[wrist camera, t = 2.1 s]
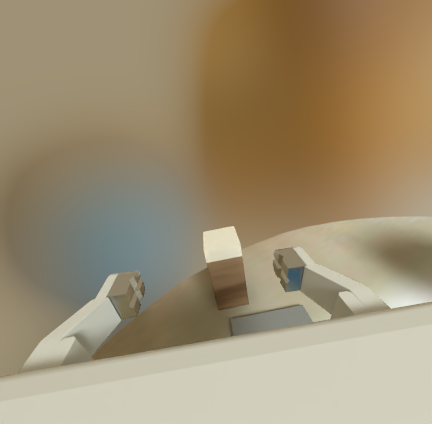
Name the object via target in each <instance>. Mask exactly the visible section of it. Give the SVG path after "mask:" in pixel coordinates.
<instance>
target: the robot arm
mask: <svg viewBox="0 0 432 424" xmlns="http://www.w3.org/2000/svg"><path fill="white" fill-rule="evenodd" d="M274 257H275V259H274V261H273V267H274V271H275V274H276V275H277V277H279V278H280V279H281V281H280V283H281V285H282V287H283V288H284V290H285V292H291V291H298V290H300V291H301V292H302V293H304V294H305V295H306V296H308V297H309V298H310V299H312V300H313V301H314V302H316V303H317V304H318V305H320V306H321V307H322V308H324V309H325V310H326V311H328V312H329V313H330V314H332V315H331V319H330V320H324V321H318V322H312V323H307V324H301V325H295V326H289V327H284V328H278V329H272V330H266V331H261V332H255V333H249V334H243V335H238V336H232V337H226V338H220V339H215V340H209V341H203V342H197V343H192V344H186V345H180V346H174V347H168V348H163V349H157V350H151V351H145V352H139V353H134V354H128V355H122V356H116V357H111V358H105V359H99V360H94V359H93V358H92V356H93V354H94V353H95V352H96V351H97V350H98V348H99V347H100V346H101V345H102V344H103V342H104V341H105V340H106V339H107V337H108V336H109V335H110V334H111V332H112V331H113V330H114V329H115V327H116V326H117V325H118V324H119V323H120V322H121V319H126V318H132V317H137V316H138V313H139V309H140V306H141V304H140V302H139V301H140V300H141V299H142V298H143V296H144V291H145V287H144V283H143V281H142V280H140V279H139V278H140V274H139V271H132V272H124V273H118V274H111V275H110V276H108V278H107V280H106V281H105V283H104V285H103V286H102V288H101V290H100V292H99V293H98V295H97V297H96V299H94V300H91V301H90V302H89V303H88V304H86V305H85V306H84V307H82V308H81V309H80V310H79V311H77V312H76V313H75V314H74V315H73V316H71V317H70V318H69V319H68V320H66V321H65V322H64V323H63V324H61V325H60V326H59V327H58V328H56V329H55V330H54V331H53V332H51V333H50V334H49V335H48V336H46V337H45V338H44V339H43V340H41V342H40V343H39V344H38V346H37V347H36V349H35V350H34V351H33V353H32V354H31V355H30V357H29V358H28V359H27V361H26V362H25V364H24V365H23V366H22V368H21V369H20V370H19V372H18V373H17V374H13V375H7V376H1V377H0V424H432V302H427V303H422V304H416V305H410V306H404V307H399V308H393V309H391V308H390V307H389V306H388V305H386V304H385V303H384V302H383V301H382V300H381V299H380V298H379V297H378V296H377V295H376V294H375V293H374V292H373V291H372V290H370V289H369V288H368V287H367V286H365V285H363V284H360V283H358V282H356V281H354V280H352V279H350V278H347V277H345V276H343V275H341V274H339V273H337V272H335V271H332V270H330V269H328V268H326V267H324V266H322V265H320V264H317V265H316V263H315V262H314V261H313V260H312V259H311V258H310V257H309V256H308V254H307V253H306V252H305V251H304V250H303V249H302V248H301V247H300V246H296V247H291V248H284V249H278V250H275V251H274Z"/></svg>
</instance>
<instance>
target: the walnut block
mask: <svg viewBox="0 0 432 424" xmlns="http://www.w3.org/2000/svg"><path fill="white" fill-rule="evenodd" d="M203 242H204V243H203V244H204V255H205V258H206V262H207V266H208V270H209V274H210V278H211V282H212V286H213V290H214V294H215V298H216V302H217V305H218V309H219V310H221V309H226V308H231V307H236V306H241V305H246V304H249V302H248V295H247V288H246V281H245V274H244V266H243V259H242V252H241V245H240V242H239V239H238V237H237V234H236V231H235V228H234V226H232V227H227V228H222V229H217V230H212V231H206V232H203Z"/></svg>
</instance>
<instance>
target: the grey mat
mask: <svg viewBox="0 0 432 424" xmlns="http://www.w3.org/2000/svg"><path fill="white" fill-rule="evenodd" d="M230 320H231V326H232V332H233V336H238V335H243V334H249V333H255V332H261V331H266V330H272V329H278V328H284V327H289V326H295V325H301V324H307V323H312V320H311V318H310V317H309V315H308V313H307V312H306V310H305V308H304V307H303V305H299V306H294V307H289V308H284V309H279V310H274V311H269V312H264V313H259V314H254V315H249V316H244V317H239V318H234V319H230Z"/></svg>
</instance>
